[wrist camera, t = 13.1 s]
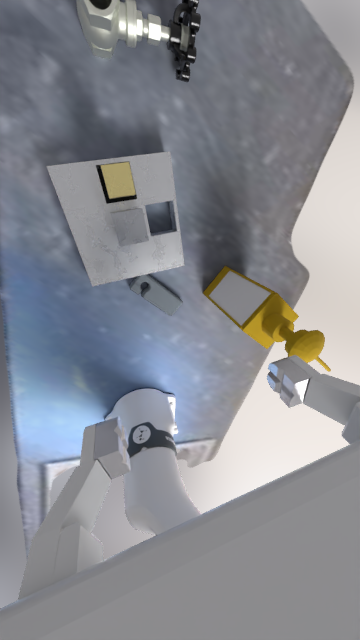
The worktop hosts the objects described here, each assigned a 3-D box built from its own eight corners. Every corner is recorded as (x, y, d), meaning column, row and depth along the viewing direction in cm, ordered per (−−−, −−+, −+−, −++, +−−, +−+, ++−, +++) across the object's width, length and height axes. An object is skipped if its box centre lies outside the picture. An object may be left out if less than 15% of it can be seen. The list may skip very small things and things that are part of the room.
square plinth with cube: (179, 261, 39) (194, 273, 32) (93, 280, 36) (90, 298, 29) (165, 155, 31) (180, 142, 24) (51, 169, 28) (33, 158, 21)
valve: (86, 74, 25) (180, 93, 28) (79, 36, 19) (198, 66, 23) (74, -17, 22) (183, 17, 25) (63, -92, 16) (204, -36, 19)
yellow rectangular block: (124, 171, 30) (128, 161, 24) (130, 196, 32) (135, 194, 25) (102, 174, 30) (100, 165, 23) (109, 199, 31) (109, 198, 25)
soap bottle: (237, 320, 50) (320, 394, 31) (202, 293, 44) (279, 365, 24) (258, 297, 49) (358, 359, 29) (225, 265, 42) (326, 318, 23)
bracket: (169, 312, 44) (171, 317, 43) (128, 285, 39) (129, 289, 37) (180, 298, 43) (183, 302, 42) (141, 268, 38) (142, 271, 36)
